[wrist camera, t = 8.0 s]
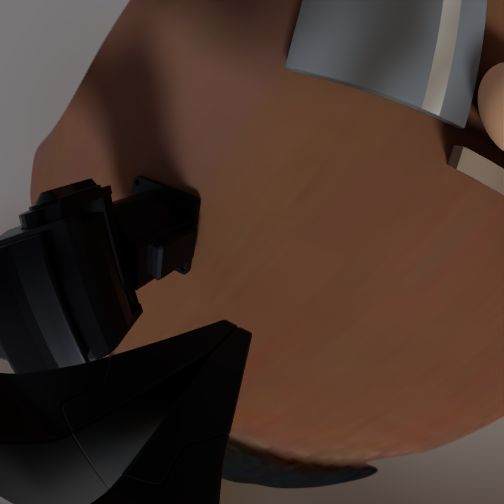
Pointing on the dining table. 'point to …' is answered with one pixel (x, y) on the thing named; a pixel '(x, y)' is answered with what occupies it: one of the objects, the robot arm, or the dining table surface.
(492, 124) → the ball
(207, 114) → the dining table surface
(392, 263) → the dining table surface
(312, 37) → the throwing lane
